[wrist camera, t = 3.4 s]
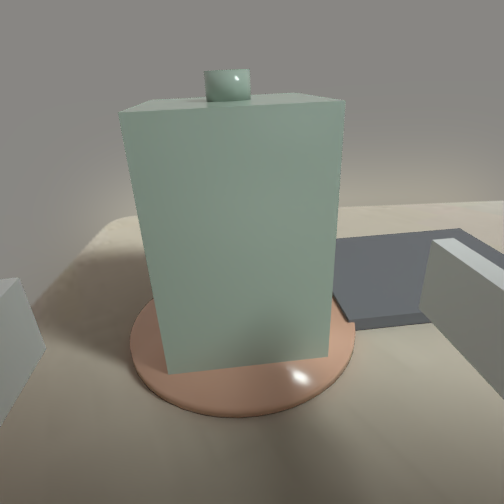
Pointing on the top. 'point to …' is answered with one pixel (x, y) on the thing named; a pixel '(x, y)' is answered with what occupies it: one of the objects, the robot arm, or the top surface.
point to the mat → (390, 275)
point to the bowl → (240, 373)
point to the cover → (238, 220)
